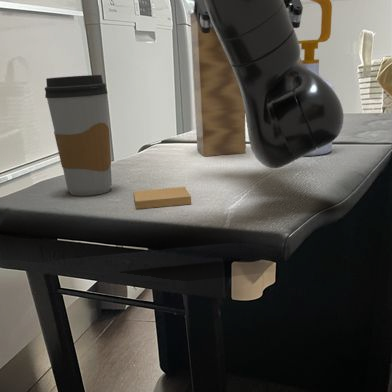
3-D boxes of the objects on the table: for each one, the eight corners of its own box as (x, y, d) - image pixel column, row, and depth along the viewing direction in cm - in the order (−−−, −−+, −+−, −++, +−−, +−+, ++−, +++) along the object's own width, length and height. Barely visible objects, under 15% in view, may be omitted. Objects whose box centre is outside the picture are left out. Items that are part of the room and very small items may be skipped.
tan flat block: (136, 209, 69) (135, 201, 68) (134, 198, 74) (133, 191, 73) (191, 204, 69) (190, 196, 69) (185, 194, 75) (184, 186, 74)
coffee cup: (90, 183, 85) (75, 75, 78) (130, 187, 81) (118, 73, 74) (49, 194, 79) (28, 79, 72) (90, 200, 75) (72, 77, 68)
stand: (203, 156, 102) (196, 10, 91) (197, 150, 109) (190, 13, 98) (245, 153, 103) (243, 7, 92) (236, 147, 110) (233, 11, 99)
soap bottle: (275, 150, 103) (277, -4, 91) (322, 147, 104) (330, -7, 92) (287, 158, 95) (290, -10, 83) (338, 154, 96) (349, -14, 84)
